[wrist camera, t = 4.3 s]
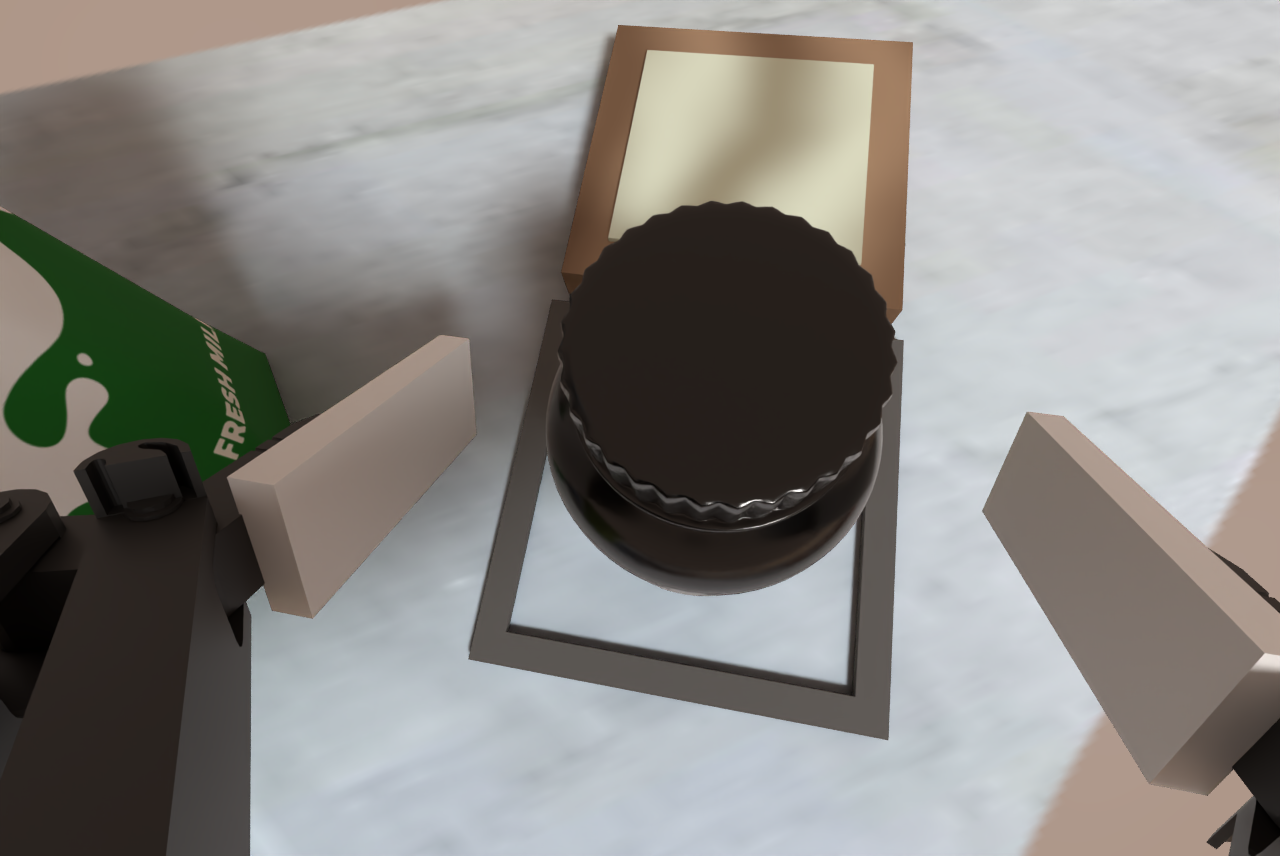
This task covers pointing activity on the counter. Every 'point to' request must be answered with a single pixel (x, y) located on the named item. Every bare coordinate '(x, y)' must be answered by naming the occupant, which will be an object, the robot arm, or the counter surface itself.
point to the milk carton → (112, 371)
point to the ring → (684, 681)
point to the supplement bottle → (720, 398)
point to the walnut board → (752, 139)
